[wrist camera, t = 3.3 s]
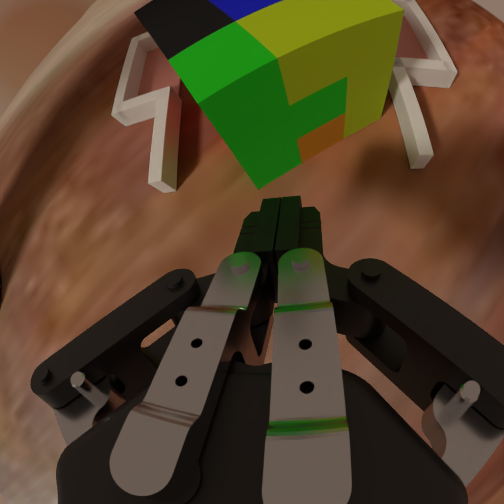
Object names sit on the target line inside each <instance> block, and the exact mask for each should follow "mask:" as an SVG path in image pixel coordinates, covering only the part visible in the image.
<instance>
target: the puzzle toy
mask: <svg viewBox="0 0 504 504" xmlns="http://www.w3.org/2000/svg"><path fill="white" fill-rule="evenodd" d="M134 13H135V15H136V16H137V18H138V19H139V20H140V22H141V23H142V24H143V26H144V27H145V29H146V30H147V31H148V33H149V34H150V36H151V37H152V38H153V40H154V41H155V43H156V44H157V45H158V47H159V48H160V50H161V51H162V53H163V54H164V55H165V57H166V58H167V60H168V61H169V63H170V64H171V65H172V67H173V68H174V70H175V71H176V73H177V74H178V76H179V77H180V79H181V80H182V81H183V83H184V84H185V86H186V87H187V89H188V90H189V92H190V93H191V95H192V96H193V98H194V99H195V101H196V102H197V104H198V105H199V106H200V108H201V109H202V110H203V112H204V113H205V115H206V116H207V117H208V119H209V120H210V122H211V123H212V124H213V126H214V127H215V128H216V130H217V131H218V133H219V134H220V135H221V137H222V138H223V140H224V141H225V143H226V144H227V145H228V147H229V148H230V150H231V151H232V152H233V154H234V155H235V157H236V158H237V160H238V161H239V162H240V164H241V165H242V167H243V168H244V170H245V171H246V173H247V174H248V176H249V177H250V178H251V180H252V181H253V183H254V184H255V186H256V187H257V189H260V188H262V187H263V186H265V185H266V184H268V183H270V182H271V181H273V180H274V179H276V178H278V177H279V176H281V175H283V174H284V173H286V172H288V171H289V170H291V169H293V168H294V167H296V166H298V165H299V164H301V163H303V162H304V161H306V160H308V159H309V158H311V157H313V156H314V155H316V154H318V153H320V152H321V151H323V150H325V149H327V148H328V147H330V146H332V145H333V144H335V143H337V142H339V141H340V140H342V139H344V138H346V137H348V136H349V135H351V134H353V133H355V132H356V131H358V130H360V129H362V128H364V127H365V126H367V125H369V124H371V123H373V122H375V121H376V120H378V119H380V118H381V115H382V111H383V107H384V103H385V99H386V95H387V91H388V87H389V83H390V79H391V74H392V70H393V65H394V61H395V56H396V51H397V46H398V41H399V36H400V31H401V25H402V20H403V14H404V9H402V8H401V7H400V6H398V5H397V4H395V3H394V2H392V1H391V0H153V1H151V2H149V3H148V4H146V5H145V6H143V7H142V8H140V9H138V10H137V11H135V12H134Z"/></svg>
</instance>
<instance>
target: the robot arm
mask: <svg viewBox="0 0 504 504" xmlns="http://www.w3.org/2000/svg"><path fill="white" fill-rule="evenodd" d="M0 286H1V285H0ZM274 303H278V307H277V308H275V309H274ZM273 309H274V317H273ZM170 319H172V321H173V323H174V324H175V327H174V328H173V329H171V330H170V331H169V332H167V333H166V334H164V335H163V336H162V337H160V338H159V339H158V340H156V341H155V342H154V343H152V344H151V345H150V346H148V347H144V348H143V347H141V342H142V341H143V339H144V338H145V337H147V336H148V335H149V334H151V333H152V332H153V331H155V330H156V329H157V328H159V327H160V326H161V325H163V324H164V323H166V322H167V321H168V320H170ZM273 321H274V326H273ZM272 326H273V353H272V363H268V364H264V360H265V356H266V352H267V348H268V343H269V339H270V335H271V330H272ZM337 333H339V334H343V335H346V339H347V340H348V342H349V343H350V344H351V345H352V346H353V347H354V348H356V349H357V350H358V351H359V352H360V353H361V354H362V355H363V356H364V357H365V358H366V359H368V360H369V361H370V362H371V363H372V364H373V365H374V366H375V367H376V368H377V369H378V370H379V371H381V372H382V373H383V374H384V375H385V376H386V377H387V378H388V379H389V380H390V381H391V382H393V383H394V384H395V385H396V386H397V387H398V388H399V389H400V390H401V391H402V392H403V393H404V394H406V395H407V396H408V397H409V398H410V399H411V400H412V401H413V402H414V403H415V404H416V405H418V406H419V407H420V408H421V409H422V410H423V411H424V413H423V416H422V422H421V424H422V430H423V432H424V434H425V436H426V437H427V438H428V440H429V441H430V443H431V446H432V448H431V447H430V446H429V445H428V444H427V443H426V442H425V441H424V440H423V439H422V438H421V437H420V436H419V435H418V434H417V433H416V432H415V431H414V430H413V429H412V428H411V427H410V426H409V424H408V423H407V422H406V421H405V420H404V419H403V418H402V417H401V416H400V415H399V414H398V413H397V412H396V411H395V410H394V409H393V408H392V407H391V406H390V405H389V404H388V403H387V402H386V401H385V399H384V398H383V397H382V396H381V395H380V394H379V393H378V392H377V391H376V390H375V389H374V388H373V387H372V386H371V385H370V384H369V383H367V382H366V381H365V380H364V379H362V378H360V377H359V376H357V375H355V374H353V373H351V372H348V371H346V370H342V369H341V361H340V353H339V345H338V338H337ZM31 389H32V391H33V392H34V393H35V394H36V395H37V396H39V397H40V398H41V399H42V400H44V401H45V402H46V403H47V404H48V405H49V406H50V407H51V408H52V409H53V410H54V413H55V416H56V419H57V421H58V424H59V427H60V430H61V432H62V435H63V437H64V440H65V442H66V445H67V447H66V448H65V450H64V451H63V453H62V454H61V456H60V458H59V461H58V464H57V469H56V481H57V489H58V504H468V496H467V491H466V488H465V487H466V486H467V485H468V484H469V483H470V481H471V480H472V479H473V478H474V477H475V475H476V474H477V473H478V472H479V470H480V469H481V468H482V467H483V465H484V464H485V463H486V461H487V460H488V459H489V457H490V456H491V455H492V453H493V452H494V451H495V449H496V448H497V446H498V445H499V443H500V442H501V440H502V439H503V437H504V345H502V344H501V343H500V342H499V341H497V340H496V339H495V338H493V337H492V336H491V335H489V334H488V333H487V332H485V331H484V330H483V329H481V328H480V327H479V326H477V325H476V324H475V323H473V322H472V321H471V320H469V319H468V318H467V317H465V316H464V315H462V314H461V313H460V312H458V311H457V310H455V309H454V308H453V307H451V306H450V305H448V304H447V303H445V302H444V301H443V300H441V299H440V298H438V297H437V296H435V295H434V294H432V293H431V292H430V291H428V290H427V289H425V288H424V287H422V286H421V285H419V284H418V283H416V282H415V281H413V280H412V279H410V278H409V277H407V276H406V275H404V274H403V273H401V272H400V271H398V270H397V269H395V268H393V267H392V266H390V265H389V264H387V263H386V262H384V261H381V260H378V259H373V258H368V259H362V260H359V261H356V262H355V263H353V264H352V265H351V266H350V268H349V269H347V268H342V267H338V266H335V265H333V264H331V263H329V262H328V261H327V260H326V259H325V257H324V255H323V246H322V232H321V219H320V212H319V211H318V210H317V209H316V208H315V207H302V203H301V197H300V196H290V197H282V198H281V197H279V198H269V199H263V201H262V205H261V209H260V211H258V212H251V213H250V214H249V215H248V216H247V217H246V218H245V219H244V222H243V225H242V229H241V231H240V235H239V237H238V240H237V244H236V247H235V250H234V253H233V254H232V255H230V256H228V257H226V258H225V259H224V260H223V261H222V262H221V263H220V265H219V267H218V269H217V271H216V273H215V274H212V275H208V276H205V277H201V278H197V279H196V277H195V275H194V273H193V272H192V271H190V270H188V269H177V270H173V271H171V272H169V273H167V274H165V275H164V276H162V277H161V278H159V279H158V280H157V281H155V282H154V283H152V284H151V285H149V286H148V287H146V288H145V289H144V290H142V291H141V292H139V293H138V294H136V295H135V296H133V297H132V298H131V299H129V300H128V301H126V302H125V303H124V304H122V305H121V306H119V307H118V308H116V309H115V310H114V311H112V312H111V313H109V314H108V315H107V316H105V317H104V318H102V319H101V320H100V321H98V322H97V323H95V324H94V325H93V326H91V327H90V328H89V329H87V330H86V331H84V332H83V333H82V334H80V335H79V336H78V337H76V338H75V339H73V340H72V341H71V342H69V343H68V344H67V345H65V346H64V347H63V348H61V349H60V350H58V351H57V352H56V353H54V354H53V355H52V356H50V357H49V358H48V359H46V360H45V361H44V362H42V363H41V364H40V365H39V366H38V367H37V368H36V369H35V371H34V373H33V375H32V378H31Z"/></svg>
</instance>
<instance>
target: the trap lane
mask: <svg viewBox="0 0 504 504" xmlns="http://www.w3.org/2000/svg"><path fill="white" fill-rule="evenodd" d="M391 1H392V2H394V3H395V4H397V5H398V6H400V7H401V8H402V9H404V14H403V20H402V25H401V31H400V36H399V41H398V46H397V51H396V56H395V61H394V65H393V70H392V74H391V79H390V83H389V87H388V88H389V91H390V94H391V97H392V101H393V104H394V107H395V110H396V114H397V117H398V121H399V124H400V128H401V132H402V135H403V139H404V143H405V147H406V151H407V156H408V160H409V165H410V169H419V168H424V167H425V166H426V165H427V163H428V162H429V161H430V159H431V158H432V157H433V155H434V153H433V150H432V146H431V142H430V139H429V135H428V132H427V128H426V125H425V122H424V119H423V116H422V113H421V110H420V107H419V104H418V101H417V98H416V95H415V93H414V90H413V87H412V86H429V87H441V88H450V86H451V84H452V82H453V80H454V78H455V76H456V74H457V70H456V68H455V66H454V64H453V62H452V60H451V58H450V56H449V54H448V53H447V51H446V49H445V47H444V45H443V44H442V42H441V40H440V38H439V37H438V35H437V33H436V32H435V30H434V28H433V27H432V25H431V24H430V22H429V20H428V19H427V17H426V16H425V14H424V13H423V11H422V10H421V8H420V7H419V6H418V4H417V3H416V1H415V0H391ZM180 87H181V79H180V77H179V76H178V74H177V73H176V71H175V70H174V68H173V67H172V65H171V64H170V63H169V61H168V60H167V58H166V57H165V55H164V54H163V53H162V51H161V50H160V48H159V47H158V45H157V44H156V43H155V41H154V40H153V38H152V37H151V36H150V34H149V33H148V32H146V33H144V34H141V35H139V36H136V37H134V38H132V40H131V43H130V46H129V49H128V52H127V55H126V59H125V62H124V66H123V69H122V73H121V76H120V80H119V84H118V88H117V92H116V96H115V100H114V105H113V109H112V114H111V115H112V116H113V117H114V118H116V119H117V120H118V121H119V122H121V123H122V124H123V125H124V126H129V125H132V124H135V123H138V122H141V121H144V120H148V119H151V118H154V117H155V120H154V128H153V136H152V145H151V155H150V166H149V179H148V184H150V185H152V186H153V187H155V188H157V189H158V190H160V191H162V192H163V193H167V192H173V191H176V185H177V164H178V147H179V133H180V120H181V109H182V100H181V98H180V97H179V96H180Z"/></svg>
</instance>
